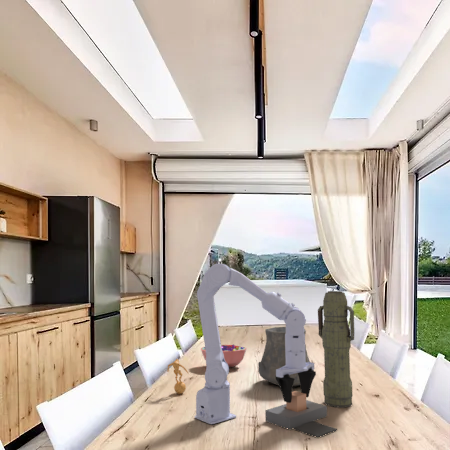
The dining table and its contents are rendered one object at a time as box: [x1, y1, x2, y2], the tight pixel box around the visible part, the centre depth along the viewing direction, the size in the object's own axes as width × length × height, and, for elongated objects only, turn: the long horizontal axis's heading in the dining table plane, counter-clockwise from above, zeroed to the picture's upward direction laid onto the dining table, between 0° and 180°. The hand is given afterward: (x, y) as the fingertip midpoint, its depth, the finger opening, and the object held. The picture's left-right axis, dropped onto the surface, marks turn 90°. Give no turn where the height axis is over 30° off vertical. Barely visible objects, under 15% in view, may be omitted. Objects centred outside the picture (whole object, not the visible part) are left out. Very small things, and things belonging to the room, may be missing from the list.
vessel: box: [257, 326, 315, 387], centre depth 167 cm, size 22×22×20 cm
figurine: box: [166, 358, 189, 395], centre depth 154 cm, size 8×6×12 cm
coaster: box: [293, 421, 338, 438], centre depth 119 cm, size 8×8×1 cm
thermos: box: [317, 290, 355, 408], centre depth 144 cm, size 9×12×35 cm
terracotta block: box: [285, 390, 307, 412], centre depth 128 cm, size 4×4×7 cm
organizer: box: [264, 399, 328, 430], centre depth 128 cm, size 16×9×3 cm, turn 130°
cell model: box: [200, 344, 247, 368], centre depth 194 cm, size 17×20×11 cm
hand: (296, 399), depth 128 cm, fingers open, 7 cm apart
